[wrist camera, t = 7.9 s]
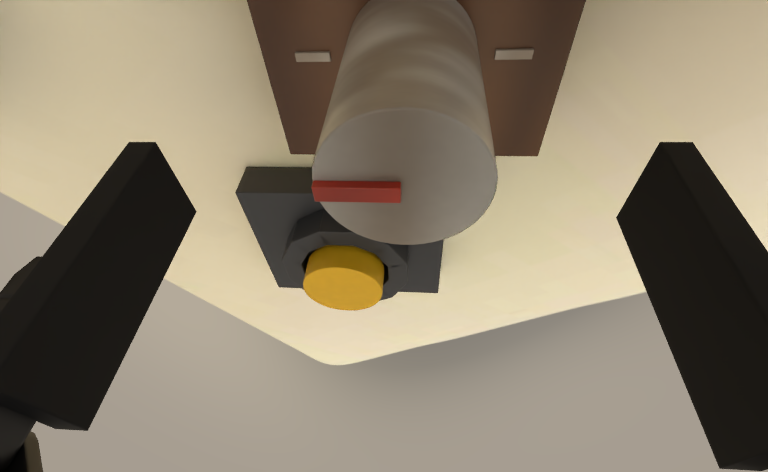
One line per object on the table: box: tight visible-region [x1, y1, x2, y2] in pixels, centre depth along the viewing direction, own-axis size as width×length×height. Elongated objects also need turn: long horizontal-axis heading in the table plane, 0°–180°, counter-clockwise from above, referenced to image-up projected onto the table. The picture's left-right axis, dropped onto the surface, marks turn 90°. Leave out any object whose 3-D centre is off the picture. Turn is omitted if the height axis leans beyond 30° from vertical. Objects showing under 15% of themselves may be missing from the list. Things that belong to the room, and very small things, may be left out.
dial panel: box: [247, 0, 586, 156], centre depth 17 cm, size 12×10×3 cm
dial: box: [311, 0, 498, 245], centre depth 13 cm, size 5×5×8 cm
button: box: [303, 245, 384, 310], centre depth 25 cm, size 5×5×2 cm
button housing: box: [236, 167, 443, 301], centre depth 26 cm, size 12×10×4 cm
